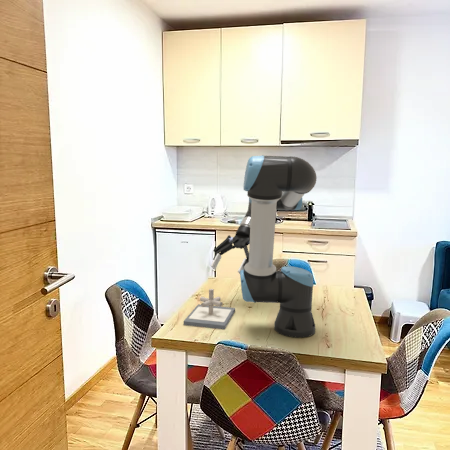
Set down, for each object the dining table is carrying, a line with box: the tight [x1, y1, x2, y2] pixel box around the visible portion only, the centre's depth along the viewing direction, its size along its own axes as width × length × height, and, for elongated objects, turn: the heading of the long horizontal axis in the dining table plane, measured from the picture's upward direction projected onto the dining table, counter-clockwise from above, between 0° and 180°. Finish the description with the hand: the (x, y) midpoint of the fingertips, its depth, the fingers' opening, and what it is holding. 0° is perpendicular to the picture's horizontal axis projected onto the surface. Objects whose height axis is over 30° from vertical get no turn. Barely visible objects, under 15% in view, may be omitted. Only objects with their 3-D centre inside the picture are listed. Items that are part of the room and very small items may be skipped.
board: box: [183, 303, 236, 330], centre depth 169 cm, size 20×16×2 cm
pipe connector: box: [199, 288, 223, 315], centre depth 169 cm, size 10×10×10 cm
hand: (225, 270), depth 175 cm, fingers open, 13 cm apart
